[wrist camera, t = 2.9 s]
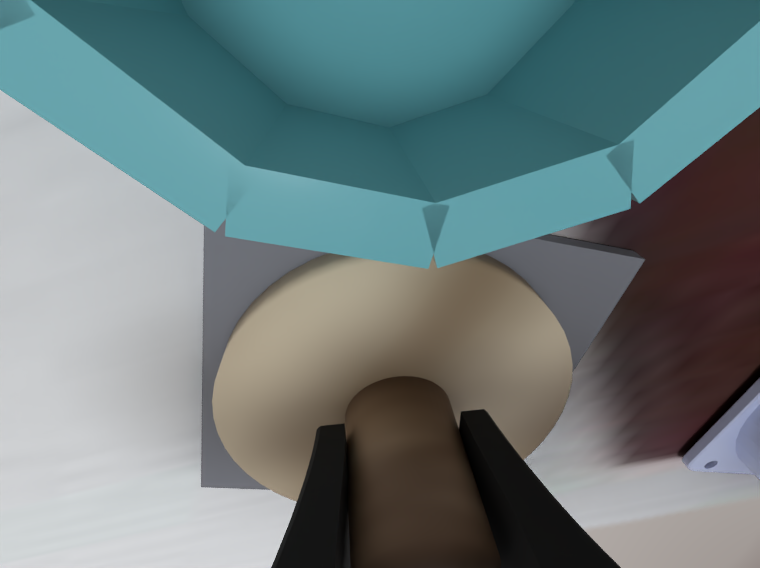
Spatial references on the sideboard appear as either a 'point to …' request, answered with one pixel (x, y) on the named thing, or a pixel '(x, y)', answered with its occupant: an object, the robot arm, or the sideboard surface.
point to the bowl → (389, 109)
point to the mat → (271, 262)
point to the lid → (393, 393)
